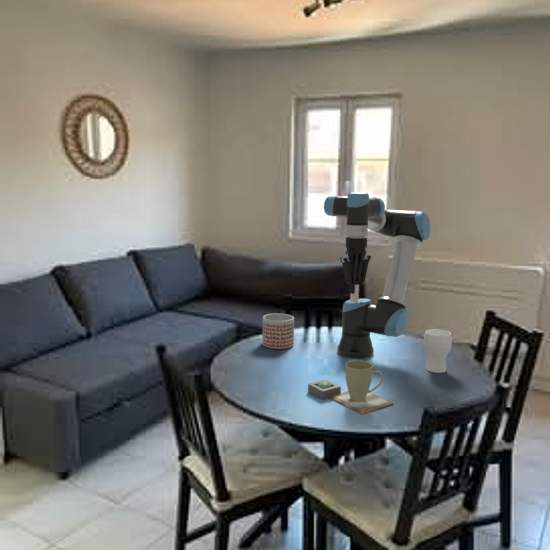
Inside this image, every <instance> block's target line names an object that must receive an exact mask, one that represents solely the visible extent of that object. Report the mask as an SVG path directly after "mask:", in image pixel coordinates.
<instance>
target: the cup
mask: <svg viewBox="0 0 550 550" xmlns="http://www.w3.org/2000/svg"><path fill="white" fill-rule="evenodd" d="M424 332H425V333H424V336H423V342H422V343H423V348H424V350H425V353H426V356H427V357H426V359H427V361H426V365H425V370H426V371H428V372H429V373H430V372H431V373H436V374H437V373H439V374H440V373H441V374H442V373H445V372H446V371H447V364H446V360H447V356H448V354H449V353H450V351H451V348H452V345H453V336H452V333H451V332H450V331H448V330H444V329H438V328H437V329H436V328H432V329H426V331H424Z"/></svg>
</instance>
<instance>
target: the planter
mask: <svg viewBox="0 0 550 550" xmlns="http://www.w3.org/2000/svg"><path fill="white" fill-rule="evenodd" d="M294 335H295V317H294V316H293V315H291V314H287V313H268V314H265V315H263V316H262V345H263V347H264V346H265V347H264V348H266V347H267V348H266V349H269V348H270V349H271V350H277V349H278V350H281V351H282V350H287V349H291V348H293V346H294V344H295V342H294V340H295V338H294V337H295V336H294Z"/></svg>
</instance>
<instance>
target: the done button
mask: <svg viewBox="0 0 550 550" xmlns="http://www.w3.org/2000/svg"><path fill="white" fill-rule="evenodd" d="M320 381H321V380H320ZM318 387H320V388H322V389H326V388H329V387H331V383H330V382H326V381H321V382H319V383H318Z"/></svg>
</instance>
